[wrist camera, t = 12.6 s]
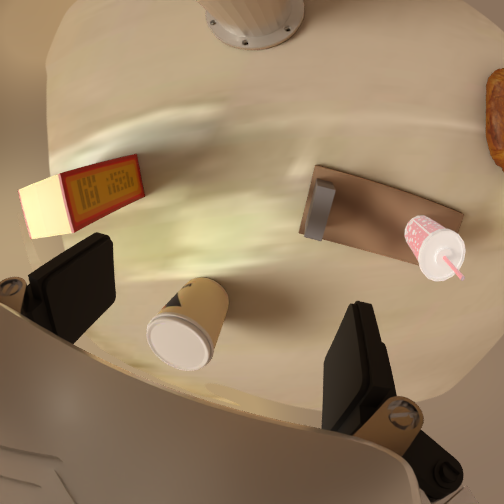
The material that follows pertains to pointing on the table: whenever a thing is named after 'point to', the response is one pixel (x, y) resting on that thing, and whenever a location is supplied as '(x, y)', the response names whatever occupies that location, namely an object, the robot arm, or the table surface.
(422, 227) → the beverage cup
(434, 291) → the table surface
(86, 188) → the baking soda box
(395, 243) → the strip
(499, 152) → the croissant
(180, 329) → the coffee cup
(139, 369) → the table surface
